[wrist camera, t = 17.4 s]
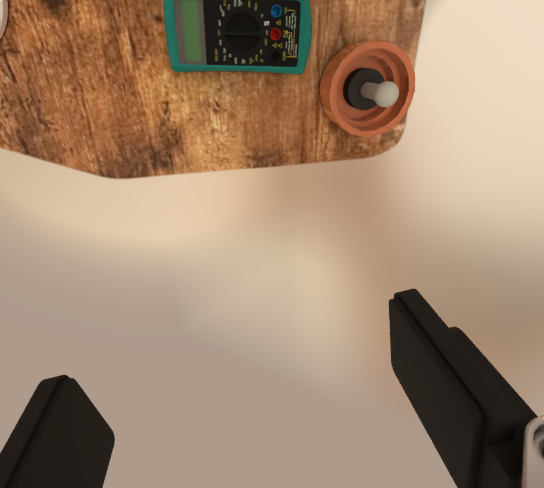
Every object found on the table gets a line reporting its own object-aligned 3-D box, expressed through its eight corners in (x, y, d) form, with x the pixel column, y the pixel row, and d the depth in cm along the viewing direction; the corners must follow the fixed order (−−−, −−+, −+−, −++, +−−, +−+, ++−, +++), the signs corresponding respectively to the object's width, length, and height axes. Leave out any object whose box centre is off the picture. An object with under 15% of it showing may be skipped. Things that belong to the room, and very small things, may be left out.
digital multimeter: (304, 73, 40) (310, 74, 37) (172, 71, 38) (168, 71, 35) (309, -4, 36) (316, -9, 34) (164, -11, 35) (159, -17, 32)
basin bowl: (311, 124, 43) (321, 131, 38) (328, 35, 38) (342, 32, 34) (381, 133, 44) (398, 142, 40) (405, 49, 40) (427, 49, 36)
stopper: (338, 105, 42) (364, 116, 34) (347, 64, 40) (376, 66, 32) (372, 110, 42) (404, 122, 35) (383, 70, 40) (419, 74, 33)
